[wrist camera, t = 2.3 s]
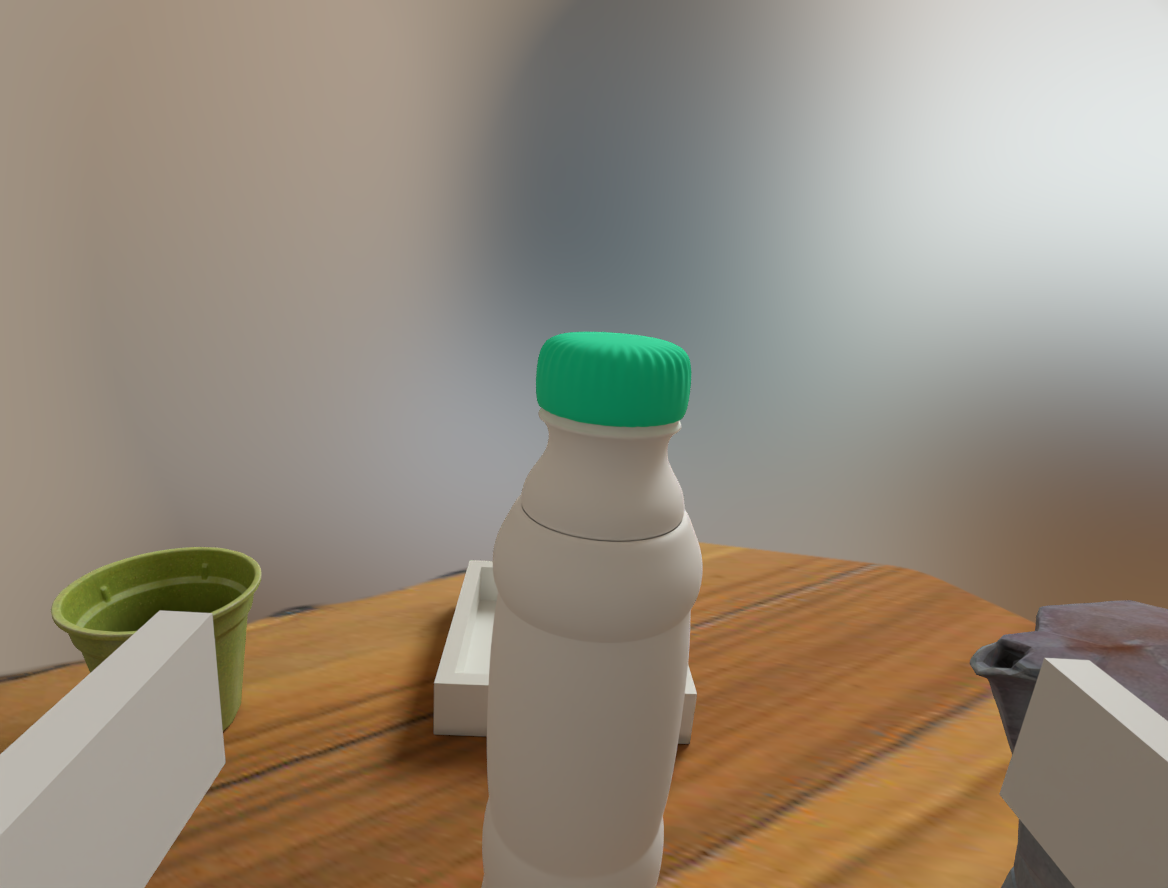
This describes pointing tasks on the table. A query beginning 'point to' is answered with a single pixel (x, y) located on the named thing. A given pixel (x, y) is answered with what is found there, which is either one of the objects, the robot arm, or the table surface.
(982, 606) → the table surface
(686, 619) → the water bottle
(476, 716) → the white tray
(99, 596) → the plant pot
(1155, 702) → the moka pot
